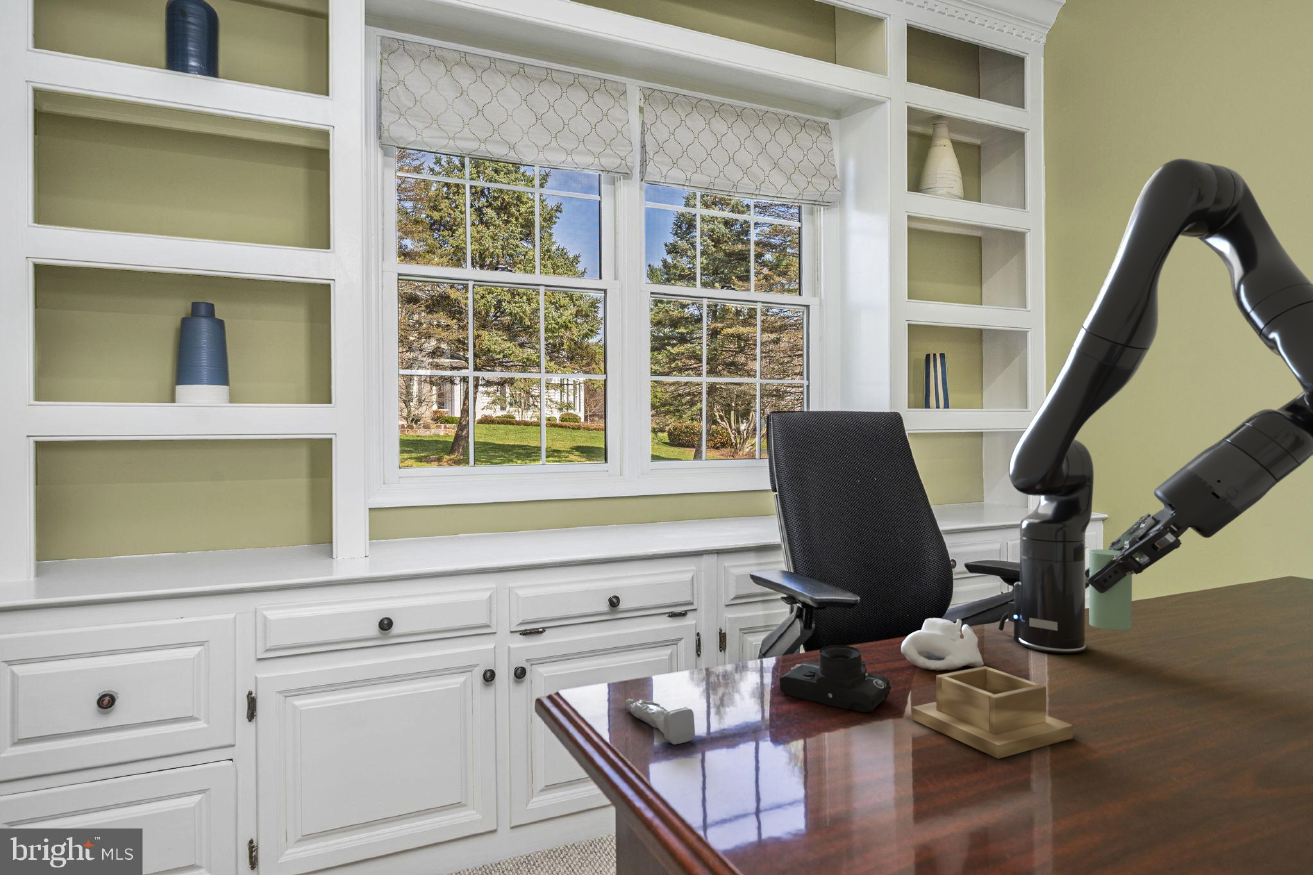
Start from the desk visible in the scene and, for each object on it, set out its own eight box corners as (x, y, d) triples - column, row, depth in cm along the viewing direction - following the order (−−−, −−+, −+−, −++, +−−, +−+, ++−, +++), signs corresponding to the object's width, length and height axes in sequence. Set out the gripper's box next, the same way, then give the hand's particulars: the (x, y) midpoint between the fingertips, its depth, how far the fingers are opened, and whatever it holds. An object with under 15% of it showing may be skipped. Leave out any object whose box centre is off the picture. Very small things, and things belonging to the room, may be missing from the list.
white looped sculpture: (899, 672, 106) (889, 615, 111) (948, 689, 113) (937, 635, 117) (953, 656, 101) (940, 597, 106) (1001, 675, 107) (987, 619, 112)
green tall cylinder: (1081, 624, 91) (1081, 550, 91) (1103, 620, 93) (1104, 548, 93) (1116, 632, 87) (1117, 556, 87) (1139, 628, 89) (1140, 553, 89)
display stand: (911, 719, 88) (911, 672, 88) (982, 703, 93) (983, 659, 93) (998, 759, 77) (998, 706, 77) (1073, 738, 83) (1073, 689, 83)
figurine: (670, 747, 80) (667, 713, 80) (617, 721, 90) (615, 692, 91) (697, 738, 82) (693, 706, 82) (642, 714, 92) (639, 686, 92)
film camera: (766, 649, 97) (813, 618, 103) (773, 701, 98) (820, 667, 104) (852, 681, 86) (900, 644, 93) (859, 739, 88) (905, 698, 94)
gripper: (1174, 462, 93) (1063, 551, 99) (1199, 467, 81) (1071, 569, 86) (1225, 506, 91) (1109, 595, 97) (1260, 519, 78) (1124, 620, 84)
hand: (1092, 582), depth 91 cm, fingers closed on green tall cylinder, 4 cm apart
